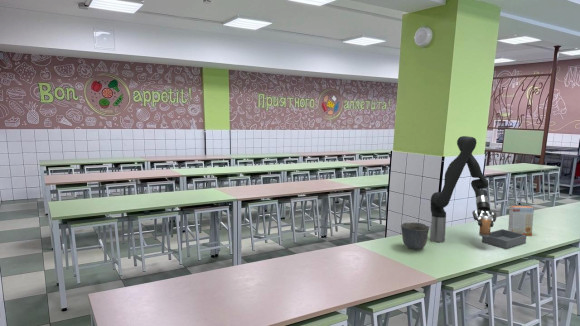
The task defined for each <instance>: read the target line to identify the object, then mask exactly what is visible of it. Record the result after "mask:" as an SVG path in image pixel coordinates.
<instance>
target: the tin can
mask: <svg viewBox="0 0 580 326" xmlns="http://www.w3.org/2000/svg"><path fill="white" fill-rule="evenodd" d="M491 217H492V215H491V216H488V215H481V218H480V220H481V226H479V232H478V233H479V234H478V236H479V237H481V238H482V237H490V232H491V229H492V227H491Z"/></svg>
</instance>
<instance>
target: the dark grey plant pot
mask: <svg viewBox="0 0 580 326" xmlns="http://www.w3.org/2000/svg"><path fill="white" fill-rule="evenodd" d="M430 227H431V226H429V225H426V224H425V223H421V222H404V223H401V224H400V228H401V236H402V237H401V238H402V242H403V244H404V246H406V247H407V248H408V249H413V250H421V249H423V248H425V246H426V245H427V241H428V236H429V231H430Z"/></svg>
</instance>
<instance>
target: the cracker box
mask: <svg viewBox="0 0 580 326" xmlns="http://www.w3.org/2000/svg"><path fill="white" fill-rule="evenodd" d="M508 210H509V212H508V231H512V232H516V233H520V234H523V235H526V237H529V236H531V237H532V236H533V223H534V207H533V206H530V205H509V209H508Z"/></svg>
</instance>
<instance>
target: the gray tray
mask: <svg viewBox="0 0 580 326" xmlns="http://www.w3.org/2000/svg"><path fill="white" fill-rule="evenodd" d="M481 243H483V244H486V245H490V246H493V247H495V248H496V247H498V248H500V249H503V250H509V249H511V248H512V249H513V248H515V247H518V246H521V245H524V244H526V243H527V236H526V235H523V234H520V233H516V232H512V231H508V230H507V229H503V228H501V229H498V230H494V231H490V237H482V236H481Z"/></svg>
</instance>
